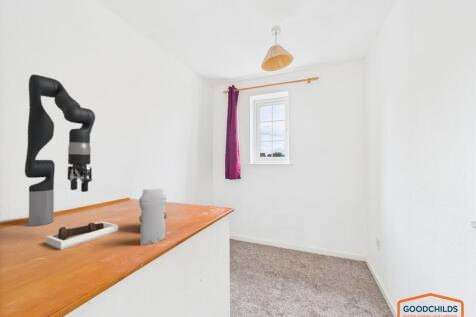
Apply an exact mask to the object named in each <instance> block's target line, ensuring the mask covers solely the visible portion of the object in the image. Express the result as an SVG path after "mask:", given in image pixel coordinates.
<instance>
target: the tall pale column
mask: <svg viewBox="0 0 476 317" xmlns="http://www.w3.org/2000/svg"><path fill="white" fill-rule="evenodd" d="M139 200H140V202H139V207H140V211H141V212H140V213H141V214H140V216H141V215H142V223H141V224H140V244H139V245H140V246H148V245H151V244H156V243H158V242H161V241H163V240H165V239H166V219H165V220H164V216H165V214H164V213H166V212H165V209H166V203H167V194H165V192H164V188H163V187H157V186H155V187H154V186H153V187H148V188H146V189H145V188H144V189H143V190H142V195H141V196H140V198H139Z"/></svg>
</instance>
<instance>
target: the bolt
mask: <svg viewBox="0 0 476 317" xmlns="http://www.w3.org/2000/svg"><path fill="white" fill-rule="evenodd" d="M95 223H96V222H89V223H88V224H87V225H83V226H78V227H73V228H66V226H63V227H61V226H60V228H59V229H58V237H59V239H61V240H66V238H68V237H71V236H76V235H81V234H85V233H90V232H94V231H97V230H101V229H104V224H103V223H99V222H97V223H98V224H95Z"/></svg>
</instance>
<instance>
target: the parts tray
mask: <svg viewBox="0 0 476 317" xmlns="http://www.w3.org/2000/svg"><path fill="white" fill-rule="evenodd" d="M94 223H95V224H98V223H103V224H104V229H101V230H97V231H94V232H90V233H85V234H81V235H76V236H71V237H68V238H66V240H61V239H59V237H58V233H59V232H58V233H54V234H51V235H50V234H49V235H46V236H45V238H46V242H45V243H46V245H48V246H50V247H53V248H55V249H56V250H60V251H63V250H66V249H69V248H72V247H75V246H79V245H81V244H84V243H86V242H90V241H93V240H96V239H99V238H103V237H105V236H109V235H112V234H114V233H117V232H119V225H118V224H115V223H112V222H111V223H110V222H106V221H100V222H94Z"/></svg>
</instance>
